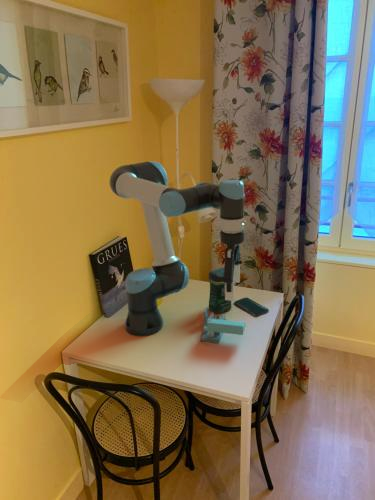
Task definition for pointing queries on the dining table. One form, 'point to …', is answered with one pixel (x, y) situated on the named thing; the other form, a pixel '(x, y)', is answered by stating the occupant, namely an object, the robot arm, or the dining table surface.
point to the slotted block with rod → (209, 335)
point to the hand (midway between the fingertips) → (232, 290)
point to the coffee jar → (218, 292)
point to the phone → (251, 307)
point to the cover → (225, 326)
